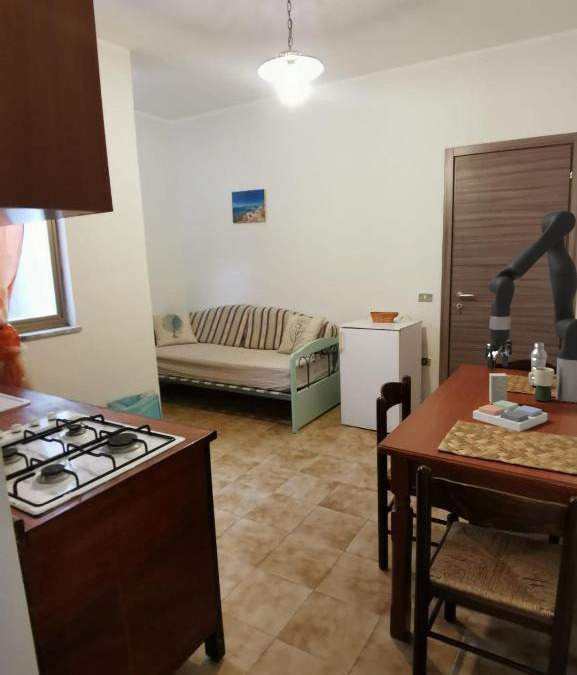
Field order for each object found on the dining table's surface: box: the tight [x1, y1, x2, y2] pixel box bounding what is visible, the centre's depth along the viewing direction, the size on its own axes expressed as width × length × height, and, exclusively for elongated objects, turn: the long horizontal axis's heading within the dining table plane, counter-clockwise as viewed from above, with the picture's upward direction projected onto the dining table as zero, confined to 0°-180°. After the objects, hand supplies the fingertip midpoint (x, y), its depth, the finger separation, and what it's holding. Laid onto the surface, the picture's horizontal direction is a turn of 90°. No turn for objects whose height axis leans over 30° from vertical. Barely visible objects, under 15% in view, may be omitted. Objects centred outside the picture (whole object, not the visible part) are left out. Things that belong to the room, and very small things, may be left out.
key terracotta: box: [478, 403, 505, 416], centre depth 176 cm, size 6×6×2 cm
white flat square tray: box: [472, 405, 548, 433], centre depth 175 cm, size 17×18×3 cm
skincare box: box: [488, 372, 508, 405], centre depth 193 cm, size 6×4×12 cm
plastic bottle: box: [528, 341, 548, 386], centre depth 213 cm, size 6×7×20 cm
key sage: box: [493, 400, 519, 411], centre depth 180 cm, size 6×6×2 cm
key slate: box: [515, 405, 543, 417], centre depth 173 cm, size 6×6×2 cm
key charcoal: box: [501, 410, 528, 422], centre depth 168 cm, size 6×6×2 cm
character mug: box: [528, 367, 559, 402], centre depth 195 cm, size 11×7×13 cm, turn 57°
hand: (498, 367), depth 192 cm, fingers open, 8 cm apart
